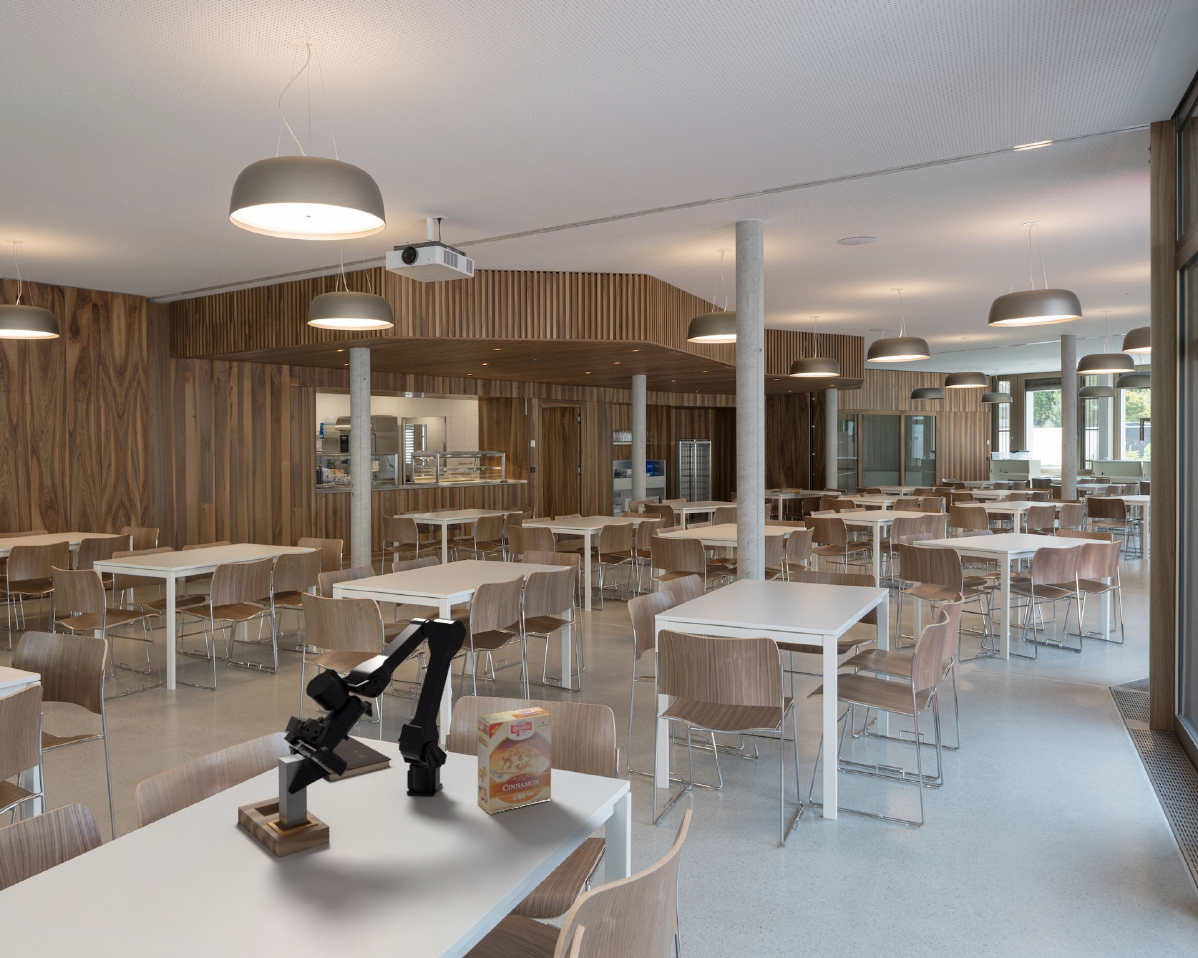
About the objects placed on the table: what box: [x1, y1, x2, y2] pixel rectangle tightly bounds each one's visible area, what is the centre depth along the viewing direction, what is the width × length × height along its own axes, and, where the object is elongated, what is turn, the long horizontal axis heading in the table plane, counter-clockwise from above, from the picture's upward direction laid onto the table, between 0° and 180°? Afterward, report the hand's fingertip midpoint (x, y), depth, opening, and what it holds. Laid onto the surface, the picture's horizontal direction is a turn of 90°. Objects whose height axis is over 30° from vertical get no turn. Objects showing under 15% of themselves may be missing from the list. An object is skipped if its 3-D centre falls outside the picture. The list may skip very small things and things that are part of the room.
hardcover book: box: [310, 736, 392, 782], centre depth 211 cm, size 16×23×2 cm
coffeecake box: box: [477, 706, 552, 815], centre depth 184 cm, size 15×7×20 cm, turn 120°
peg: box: [278, 754, 308, 827], centre depth 166 cm, size 4×4×12 cm
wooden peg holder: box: [237, 796, 330, 858], centre depth 170 cm, size 22×10×3 cm, turn 42°
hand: (285, 789), depth 165 cm, fingers closed on peg, 4 cm apart
